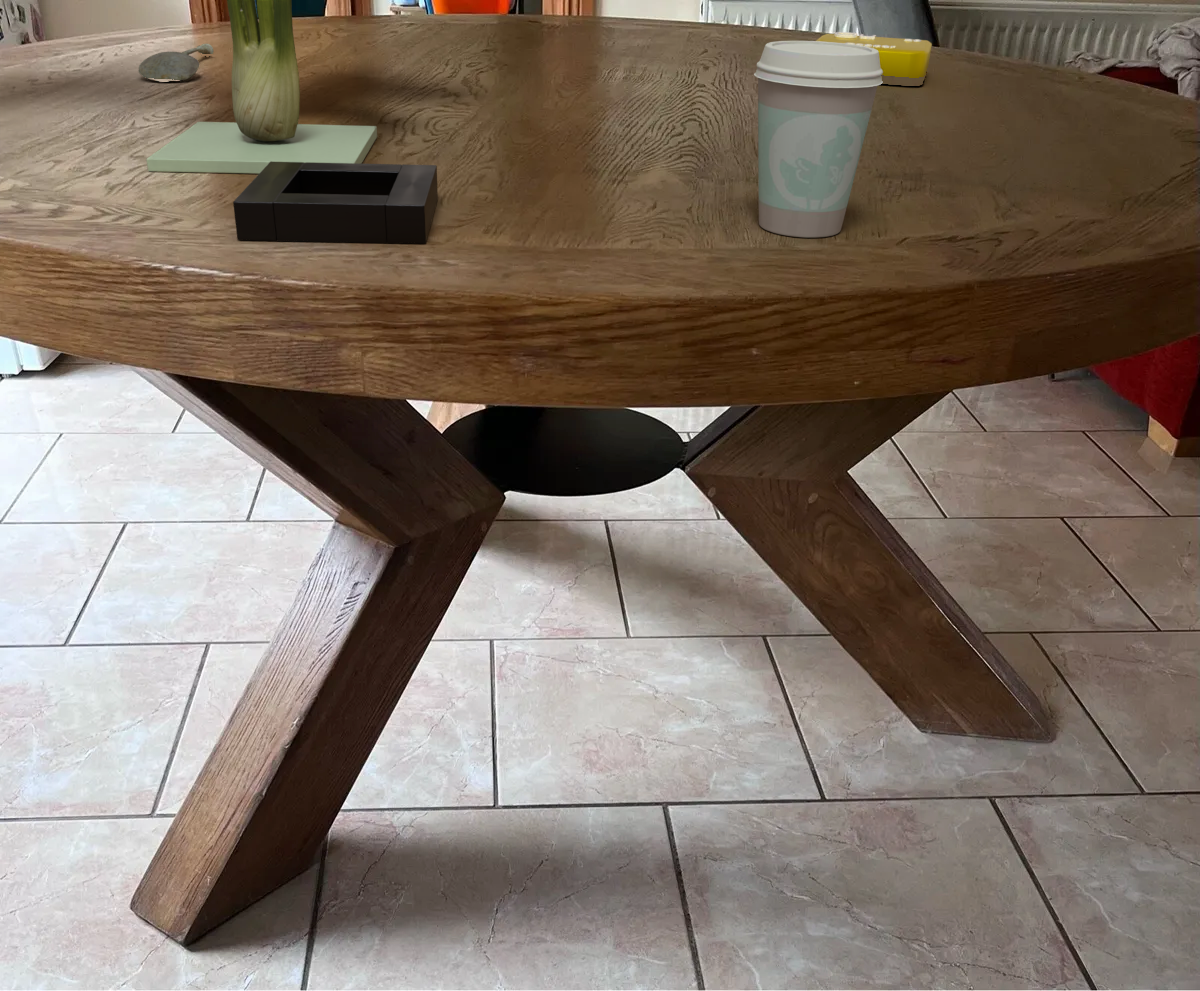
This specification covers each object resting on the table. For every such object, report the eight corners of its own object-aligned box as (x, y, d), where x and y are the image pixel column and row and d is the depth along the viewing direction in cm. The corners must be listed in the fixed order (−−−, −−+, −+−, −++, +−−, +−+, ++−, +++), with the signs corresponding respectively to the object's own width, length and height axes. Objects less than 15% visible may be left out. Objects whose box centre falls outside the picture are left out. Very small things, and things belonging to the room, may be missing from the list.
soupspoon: (132, 88, 126) (192, 92, 126) (128, 56, 124) (189, 61, 125) (182, 54, 145) (234, 58, 145) (179, 27, 143) (232, 31, 144)
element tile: (805, 79, 147) (809, 40, 144) (819, 65, 159) (823, 29, 157) (922, 88, 143) (929, 48, 141) (927, 73, 156) (933, 36, 153)
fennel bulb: (312, 143, 95) (299, -13, 89) (259, 149, 92) (242, -11, 86) (277, 132, 98) (262, -18, 93) (225, 138, 95) (207, -17, 89)
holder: (237, 240, 72) (232, 201, 71) (273, 195, 82) (269, 161, 81) (425, 244, 73) (424, 205, 72) (437, 199, 83) (436, 165, 82)
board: (147, 171, 88) (145, 158, 87) (199, 132, 102) (197, 121, 101) (354, 176, 89) (353, 163, 88) (377, 137, 103) (376, 126, 102)
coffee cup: (730, 235, 77) (747, 49, 71) (749, 207, 84) (766, 36, 79) (856, 249, 75) (884, 59, 70) (864, 219, 83) (890, 44, 77)
